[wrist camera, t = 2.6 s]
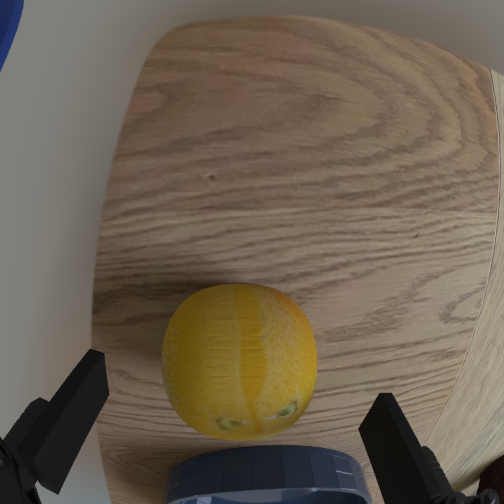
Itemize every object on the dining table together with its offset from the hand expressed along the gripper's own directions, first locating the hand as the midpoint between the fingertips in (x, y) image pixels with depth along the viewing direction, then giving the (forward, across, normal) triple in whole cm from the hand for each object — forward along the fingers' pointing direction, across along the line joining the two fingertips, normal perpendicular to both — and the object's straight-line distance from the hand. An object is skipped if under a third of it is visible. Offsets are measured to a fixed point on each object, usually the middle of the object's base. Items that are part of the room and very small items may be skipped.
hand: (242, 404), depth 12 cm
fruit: (+7, 0, 0) cm, 7 cm away
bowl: (+7, +7, -24) cm, 26 cm away
